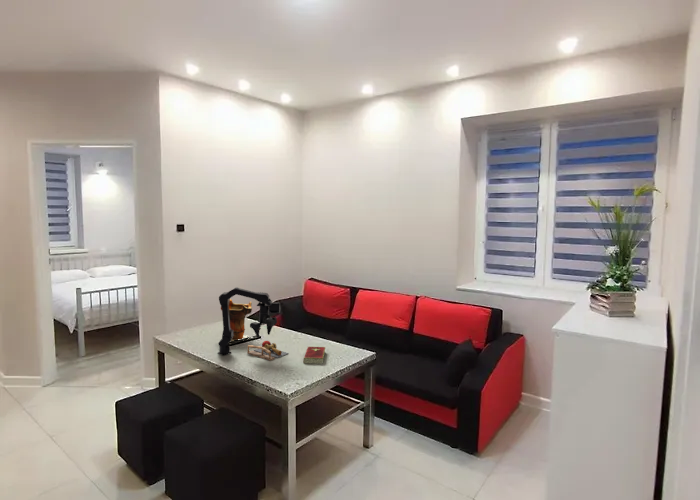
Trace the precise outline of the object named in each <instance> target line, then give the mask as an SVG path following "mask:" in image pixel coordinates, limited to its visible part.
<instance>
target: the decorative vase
mask: <svg viewBox="0 0 700 500" xmlns="http://www.w3.org/2000/svg"><path fill="white" fill-rule="evenodd" d="M220 311H222V307H221V306H220ZM252 311H253V307H252V301H249V303H234V302H233V300H232V299H231V298H230V302H229V318H230V328H231V330H233V334H234V336H233V338H232V340H231V342H235V341H234V340H238V339H242V338H247V337H249V336H250V335H247V334H245V330H246V329H245V320H246V316H247V315H249V314H251V313H252ZM249 338H250V337H249Z"/></svg>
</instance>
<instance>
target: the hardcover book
mask: <svg viewBox="0 0 700 500" xmlns="http://www.w3.org/2000/svg"><path fill="white" fill-rule="evenodd" d="M325 350H326V346H307V349H306V351H305V354H304V357H303V359H302V360H303V364H323V363H322V362H324V357H325V353H326V352H325Z"/></svg>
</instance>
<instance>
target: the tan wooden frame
mask: <svg viewBox="0 0 700 500" xmlns="http://www.w3.org/2000/svg"><path fill="white" fill-rule="evenodd" d="M250 348H251V349H262V353H259V352H256V351H254V350H250ZM263 350H264V351H265V352H267V353H269V356H268V355H265V354H263ZM246 353H247V355H250V356H254V357H257V358H260V359H263V360H267V361H273V360H275V357H272V356H271V351H269V350H268V349H266V348H264V347H262V345H261V346H259V345H252V344H248V345H247V352H246Z"/></svg>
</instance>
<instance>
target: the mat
mask: <svg viewBox="0 0 700 500" xmlns="http://www.w3.org/2000/svg"><path fill="white" fill-rule="evenodd" d="M253 351H255V352H259V353H262V349H257V348H255V349H253ZM269 351H271V357H275V358H276V359H280V358H282V357H284V356H287V355H289V352H286V351H282V350H280V351H281V352H282V353H281V355H278V354H276V353H275V352H274V351H273V350H272V349H270V350H269ZM263 354H265V355H268V356H269V353H267V352H265V351H264V350H263Z"/></svg>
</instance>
